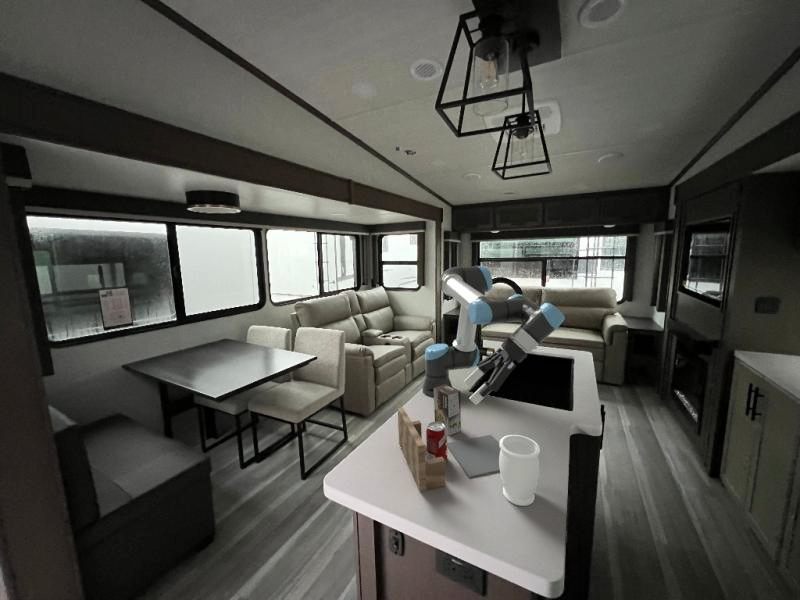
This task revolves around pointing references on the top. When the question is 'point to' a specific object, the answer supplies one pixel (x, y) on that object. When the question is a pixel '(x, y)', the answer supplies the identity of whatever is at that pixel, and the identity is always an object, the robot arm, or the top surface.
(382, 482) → the top surface
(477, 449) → the rubber mat
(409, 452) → the walnut bay
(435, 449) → the soda can
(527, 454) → the jar
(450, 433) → the coffee box
